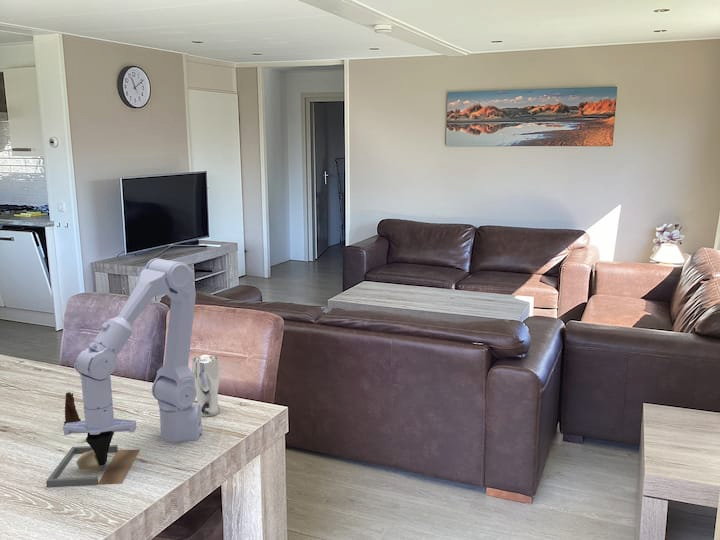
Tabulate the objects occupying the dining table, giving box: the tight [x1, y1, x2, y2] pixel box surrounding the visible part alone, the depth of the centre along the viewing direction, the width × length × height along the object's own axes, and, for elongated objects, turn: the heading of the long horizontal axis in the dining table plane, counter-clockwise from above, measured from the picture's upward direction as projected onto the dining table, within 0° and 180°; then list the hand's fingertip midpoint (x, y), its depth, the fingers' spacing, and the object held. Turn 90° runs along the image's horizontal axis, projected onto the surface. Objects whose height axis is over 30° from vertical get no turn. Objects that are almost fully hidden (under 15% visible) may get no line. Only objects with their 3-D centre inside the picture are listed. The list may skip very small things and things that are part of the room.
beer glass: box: [191, 354, 221, 418], centre depth 168 cm, size 7×7×15 cm
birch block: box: [75, 450, 105, 473], centre depth 138 cm, size 4×4×4 cm
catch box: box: [45, 444, 119, 488], centre depth 138 cm, size 10×15×3 cm, turn 5°
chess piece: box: [63, 391, 82, 427], centre depth 158 cm, size 5×5×10 cm
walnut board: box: [96, 448, 141, 486], centre depth 138 cm, size 5×15×1 cm, turn 5°
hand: (103, 463), depth 138 cm, fingers closed
